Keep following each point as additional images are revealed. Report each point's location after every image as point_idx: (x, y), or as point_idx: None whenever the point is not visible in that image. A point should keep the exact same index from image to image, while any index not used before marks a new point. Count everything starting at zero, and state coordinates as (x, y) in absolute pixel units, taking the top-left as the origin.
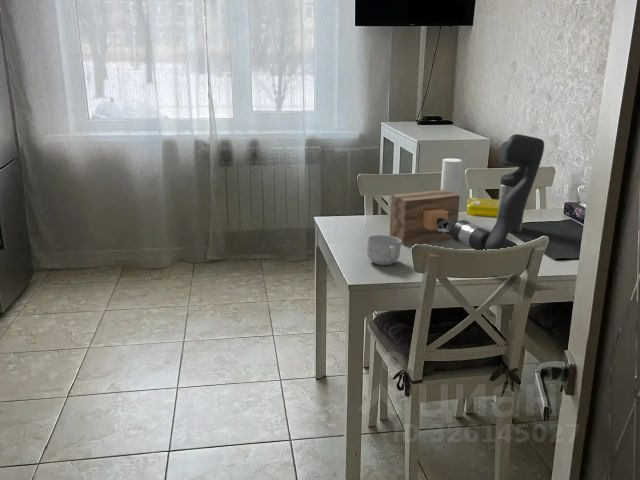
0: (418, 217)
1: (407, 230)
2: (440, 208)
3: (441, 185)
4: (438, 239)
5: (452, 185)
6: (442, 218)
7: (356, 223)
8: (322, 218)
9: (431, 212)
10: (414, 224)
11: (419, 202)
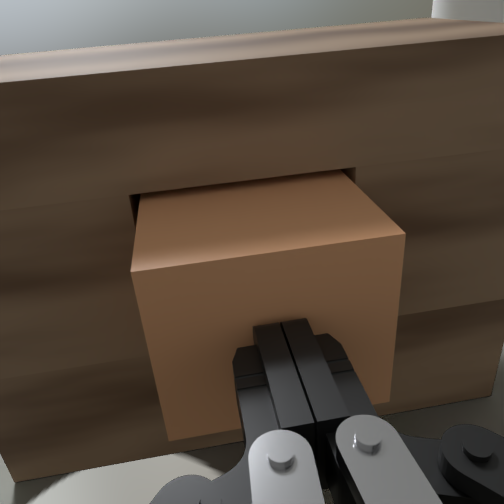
0: (91, 273)
1: (6, 385)
2: (341, 175)
3: None
4: None
5: (498, 7)
6: (308, 333)
7: None
8: None
9: (166, 246)
10: (66, 334)
11: (49, 115)
